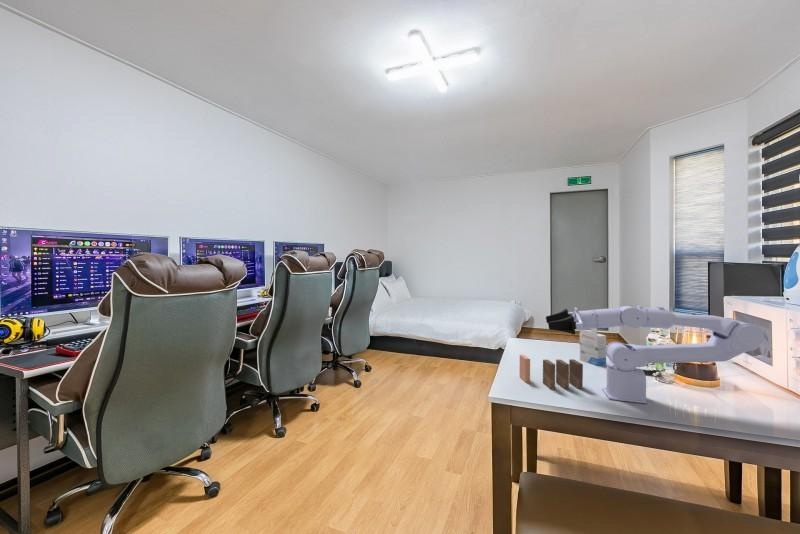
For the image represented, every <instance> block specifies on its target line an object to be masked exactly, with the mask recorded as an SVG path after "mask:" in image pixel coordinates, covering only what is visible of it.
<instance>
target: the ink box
mask: <svg viewBox="0 0 800 534" xmlns="http://www.w3.org/2000/svg"><path fill="white" fill-rule="evenodd" d="M598 330H599V329H598V328H595V329H584V330H579V361H582V362H585V363H588V364H591V365H594V366H596V367H600V366H604V365H606V366H607V355H606V352H605V350H606V347H607V335H605V334H601V333H598Z"/></svg>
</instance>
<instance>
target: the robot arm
mask: <svg viewBox="0 0 800 534" xmlns="http://www.w3.org/2000/svg"><path fill="white" fill-rule="evenodd" d="M568 311H569V310H568V308H564V309H563V310H561V311H559V312H557V313H554V314H550V315H547V316H545V320H546V323H547V324H548V326H547V327H548V330H550V331H557V332H565V333H568V334H570V335H573V336H575V335H576V331H580V330H584V329H586V330H589V329H595V328H597V329H605V328H606V329H607V328H615V327H616V328H617V327H624V326H626V327H629V328H632V329H637V328H640V327H642V328H652V329H664V330H667V329H671V328H672V327H673V326H681V327H691V328H697V329H708V330H709V331H711V334H710V338H709V339H708V341H706V342H700V343H677V344H673V343H672V344H653V345H651V344H650V345H639V344H633V343H623V342H620V341H612V342H610V343H608V344H606V350H605V352H606V358H608V361H606V387H602V388H601V390H602V391H603V392H604V394H605V396H606V397H607V398H608V399H609V400H613V401H623V402H629V403H630V402H631V403H637V404H647V403H648V402H647V378H646V377H647V376H646V375H645V373H644V371H643V370H644V369H643V367H646V366H645V365H647V364H648V363H654V364H674V363H678V364H679V363H681V364H682V363H708V362H710V363H711V362H712V363H714V362H715V363H716V362H717V363H718V362H721V363H723V362H727V361H729V360H731V359H733V358H735V357H739V356H740V355H742V354H743V353H747V352H752V351H756V350H758V348H759V347H760V346H761V344H763V342H764V340H765V333H764V331H763V329H762V328H761V327H759V326H758V325H756V324H753V323H748V322H744V321H740V320H737V319H734V318H731V317H723V316H719V315H709V314H708V315H707V314H683V313H673V312H672V311H671V310H670V309H668V308H664V307H663V306H656V308H654V307H643V306H642V305H637V306H636V307H633V306H630V305H625V304H624V305H620V306H618V307H614V308H600V309H599V308H598V309H597V308H596V309H589V310H588V309H587V310H579V309H578V308H577V307H574V311H569V312H568ZM641 368H642V369H641Z"/></svg>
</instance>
